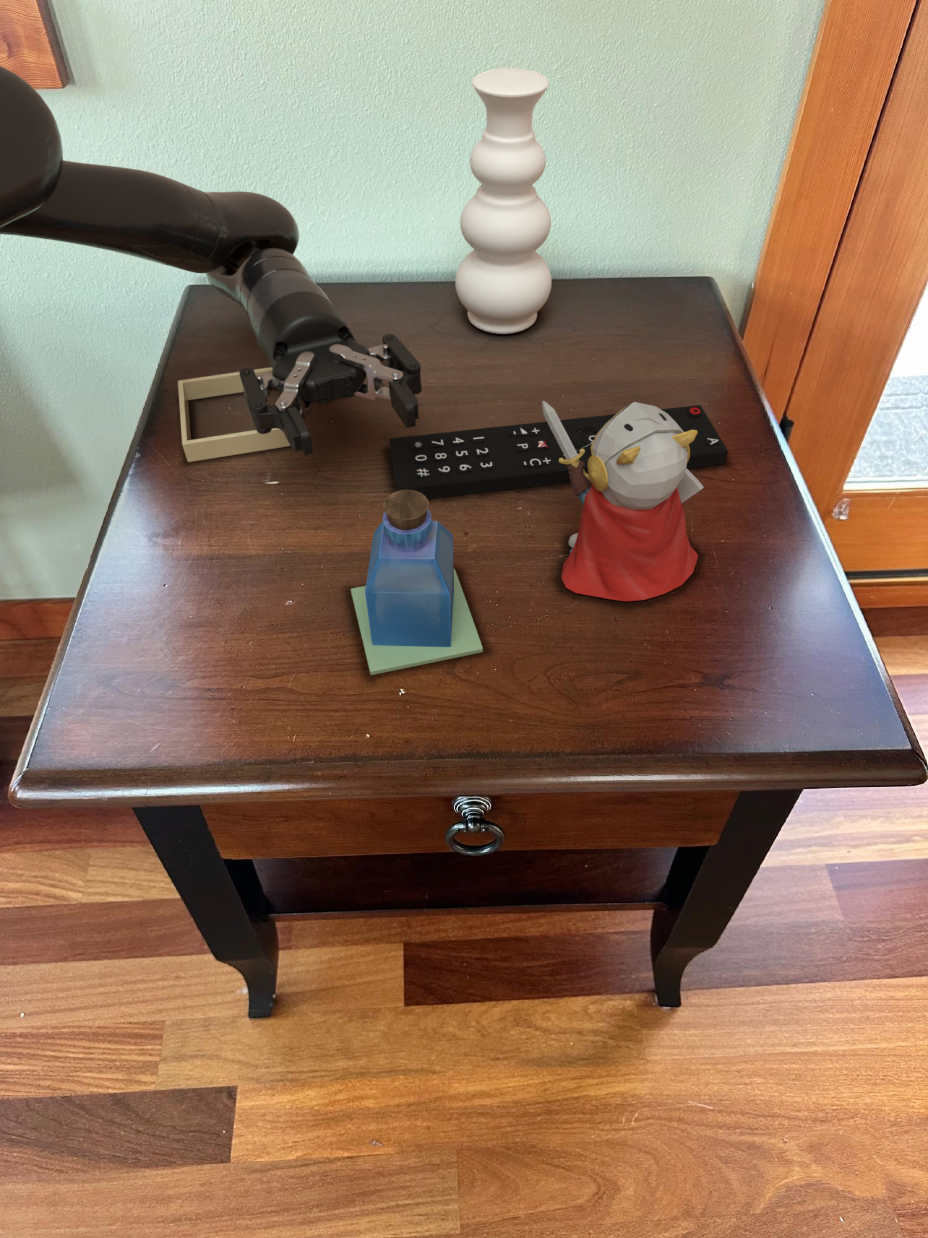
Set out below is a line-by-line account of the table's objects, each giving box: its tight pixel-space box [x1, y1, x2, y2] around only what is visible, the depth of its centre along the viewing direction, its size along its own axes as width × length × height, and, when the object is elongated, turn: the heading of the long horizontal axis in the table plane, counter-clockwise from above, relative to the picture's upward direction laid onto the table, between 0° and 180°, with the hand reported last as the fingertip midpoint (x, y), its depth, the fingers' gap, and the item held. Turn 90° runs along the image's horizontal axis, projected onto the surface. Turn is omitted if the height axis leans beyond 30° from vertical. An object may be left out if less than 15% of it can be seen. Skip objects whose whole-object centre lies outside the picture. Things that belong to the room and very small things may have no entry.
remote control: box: [388, 404, 729, 500], centre depth 81 cm, size 8×32×2 cm, turn 100°
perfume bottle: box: [365, 490, 455, 647], centre depth 63 cm, size 6×6×12 cm
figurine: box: [541, 400, 704, 603], centre depth 67 cm, size 13×12×15 cm
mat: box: [350, 568, 484, 676], centre depth 68 cm, size 9×9×1 cm
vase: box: [454, 67, 553, 335], centre depth 89 cm, size 11×11×25 cm
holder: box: [177, 366, 291, 463], centre depth 85 cm, size 11×11×2 cm
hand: (360, 431), depth 65 cm, fingers open, 8 cm apart
